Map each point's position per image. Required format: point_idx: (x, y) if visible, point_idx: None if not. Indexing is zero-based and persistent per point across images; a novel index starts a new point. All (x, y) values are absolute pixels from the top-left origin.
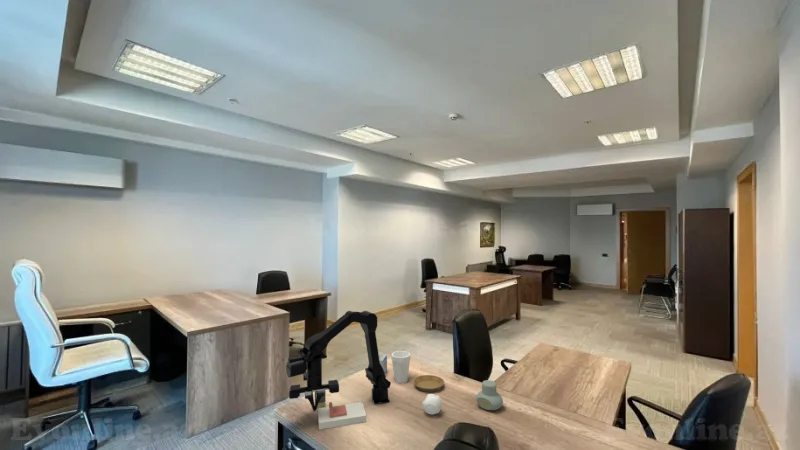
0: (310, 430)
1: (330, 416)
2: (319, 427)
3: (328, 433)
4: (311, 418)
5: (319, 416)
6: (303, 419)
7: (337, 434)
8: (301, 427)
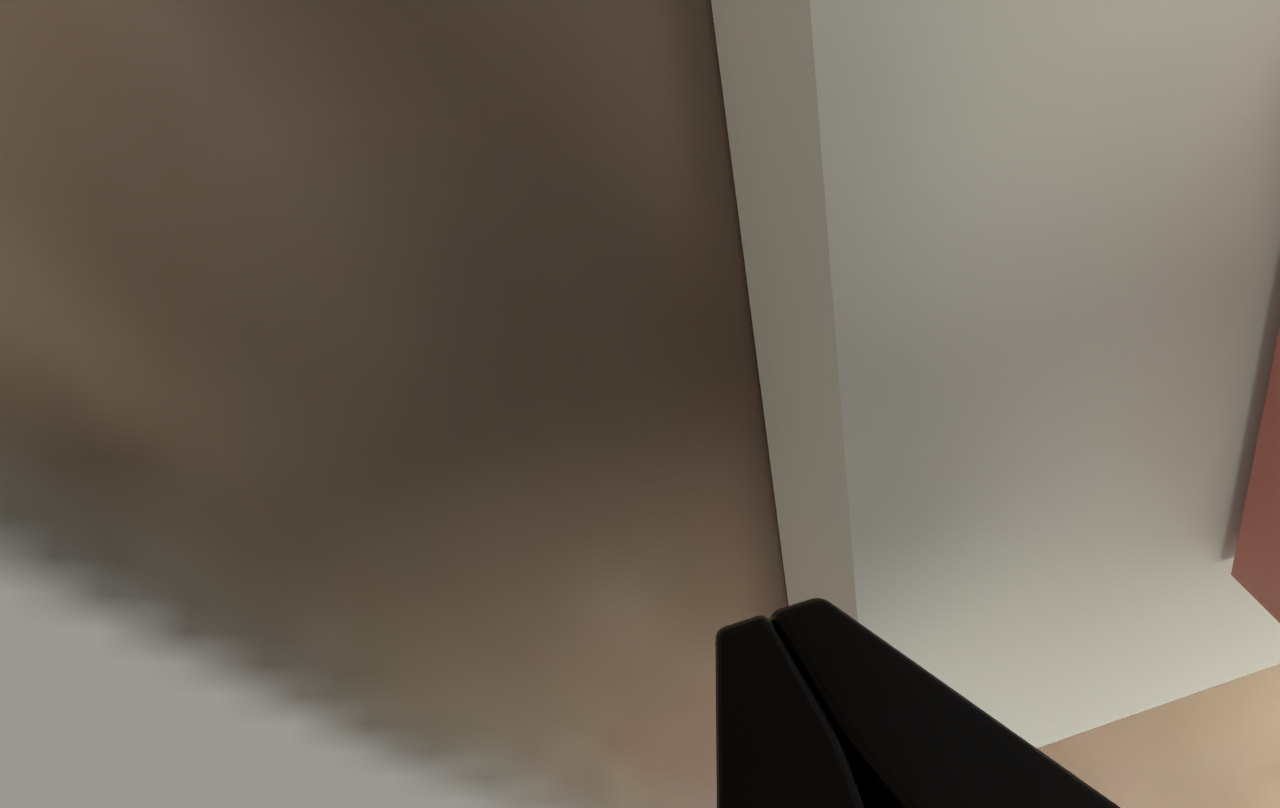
0: (568, 700)
1: (1268, 594)
2: None
3: None
4: (426, 79)
5: (886, 519)
6: (64, 151)
7: (1180, 729)
8: (230, 620)
